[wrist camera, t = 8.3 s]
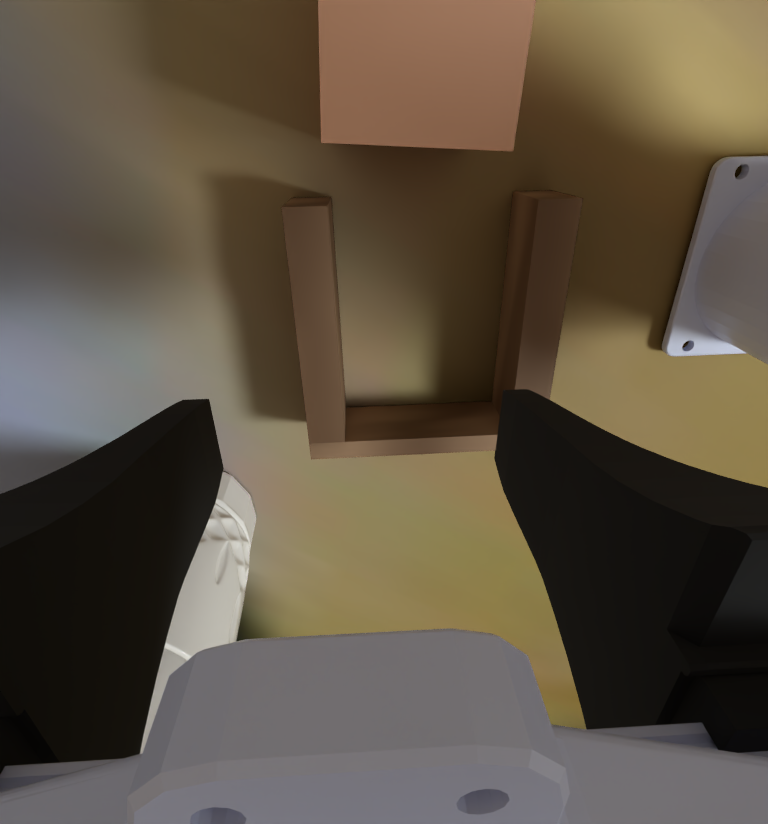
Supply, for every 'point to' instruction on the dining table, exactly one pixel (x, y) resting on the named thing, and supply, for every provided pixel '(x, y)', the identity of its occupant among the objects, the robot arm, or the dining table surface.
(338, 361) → the wooden u-shaped frame
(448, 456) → the dining table surface
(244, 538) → the white cup
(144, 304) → the dining table surface
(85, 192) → the dining table surface
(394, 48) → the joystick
